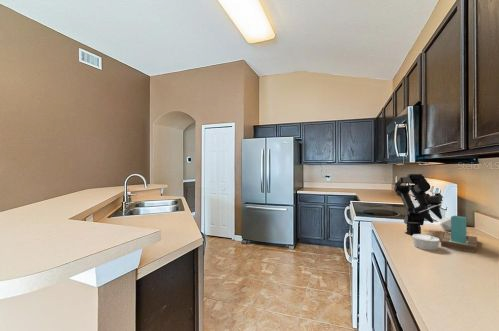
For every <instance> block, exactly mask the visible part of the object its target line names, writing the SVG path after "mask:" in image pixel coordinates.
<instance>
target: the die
mask: <svg viewBox="0 0 499 331" xmlns="http://www.w3.org/2000/svg"><path fill="white" fill-rule="evenodd" d="M440 220H441V221H440V223H439V226H440V227H441V228H442V230H443V231H445V232H451V217H442V219H440Z"/></svg>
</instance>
